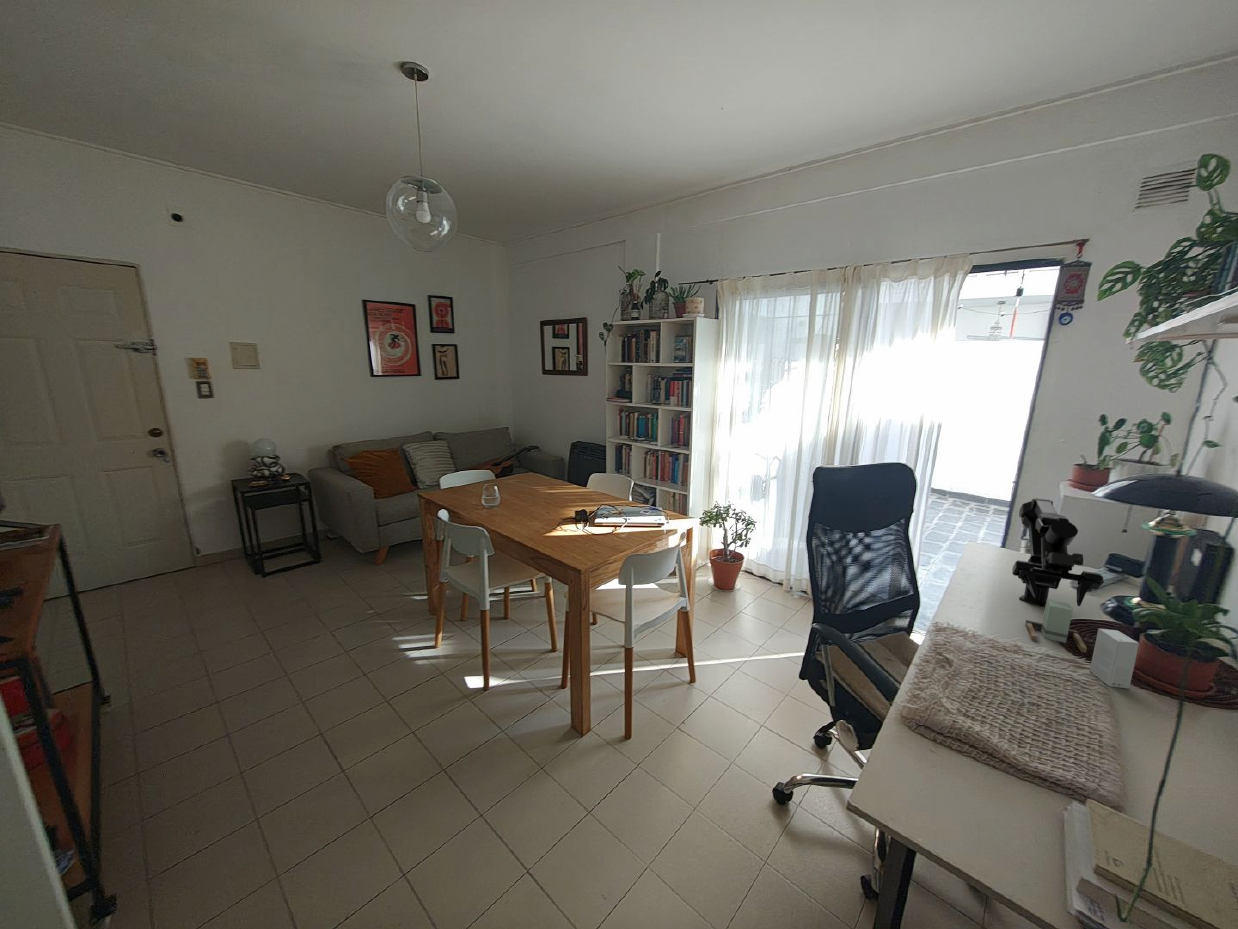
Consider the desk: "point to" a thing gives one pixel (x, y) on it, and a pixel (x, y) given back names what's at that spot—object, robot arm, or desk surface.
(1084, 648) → the walnut guide
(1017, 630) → the desk surface
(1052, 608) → the block
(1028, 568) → the robot arm
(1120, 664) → the skincare box
